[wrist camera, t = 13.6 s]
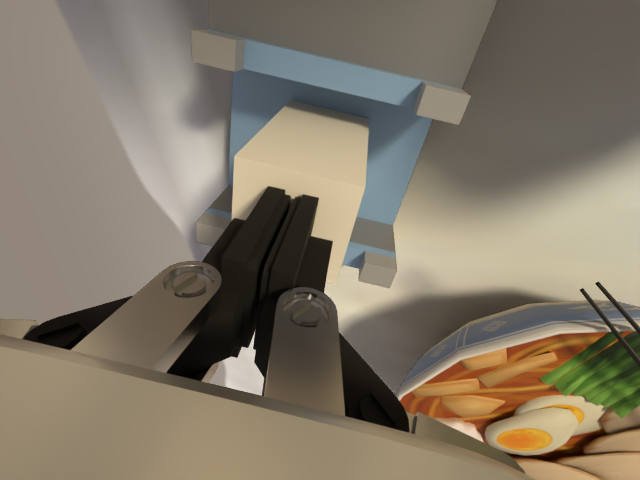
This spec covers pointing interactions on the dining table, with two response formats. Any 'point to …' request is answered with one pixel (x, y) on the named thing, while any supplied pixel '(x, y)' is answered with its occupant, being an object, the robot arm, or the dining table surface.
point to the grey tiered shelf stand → (346, 89)
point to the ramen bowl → (542, 387)
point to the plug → (308, 169)
